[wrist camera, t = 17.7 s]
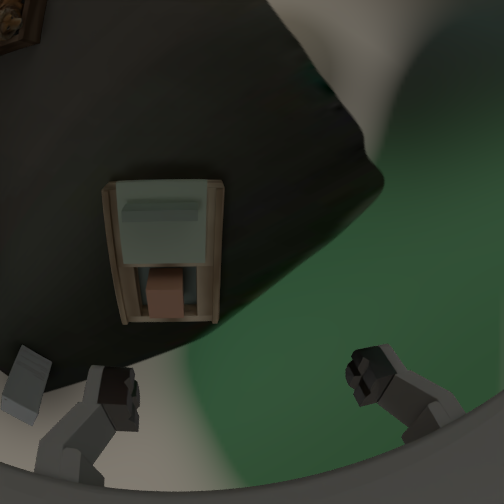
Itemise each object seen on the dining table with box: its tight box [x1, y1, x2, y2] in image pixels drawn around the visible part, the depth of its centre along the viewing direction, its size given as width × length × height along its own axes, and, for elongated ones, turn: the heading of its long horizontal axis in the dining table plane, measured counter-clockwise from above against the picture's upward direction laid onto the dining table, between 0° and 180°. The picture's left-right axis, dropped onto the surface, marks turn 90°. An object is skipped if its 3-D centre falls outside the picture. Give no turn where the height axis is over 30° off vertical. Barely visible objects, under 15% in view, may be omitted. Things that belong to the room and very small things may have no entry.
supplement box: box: [1, 345, 52, 426], centre depth 39 cm, size 7×7×13 cm
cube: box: [146, 268, 184, 318], centre depth 38 cm, size 4×4×5 cm
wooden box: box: [102, 180, 225, 325], centre depth 37 cm, size 14×19×4 cm
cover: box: [116, 179, 207, 264], centre depth 32 cm, size 10×10×3 cm
